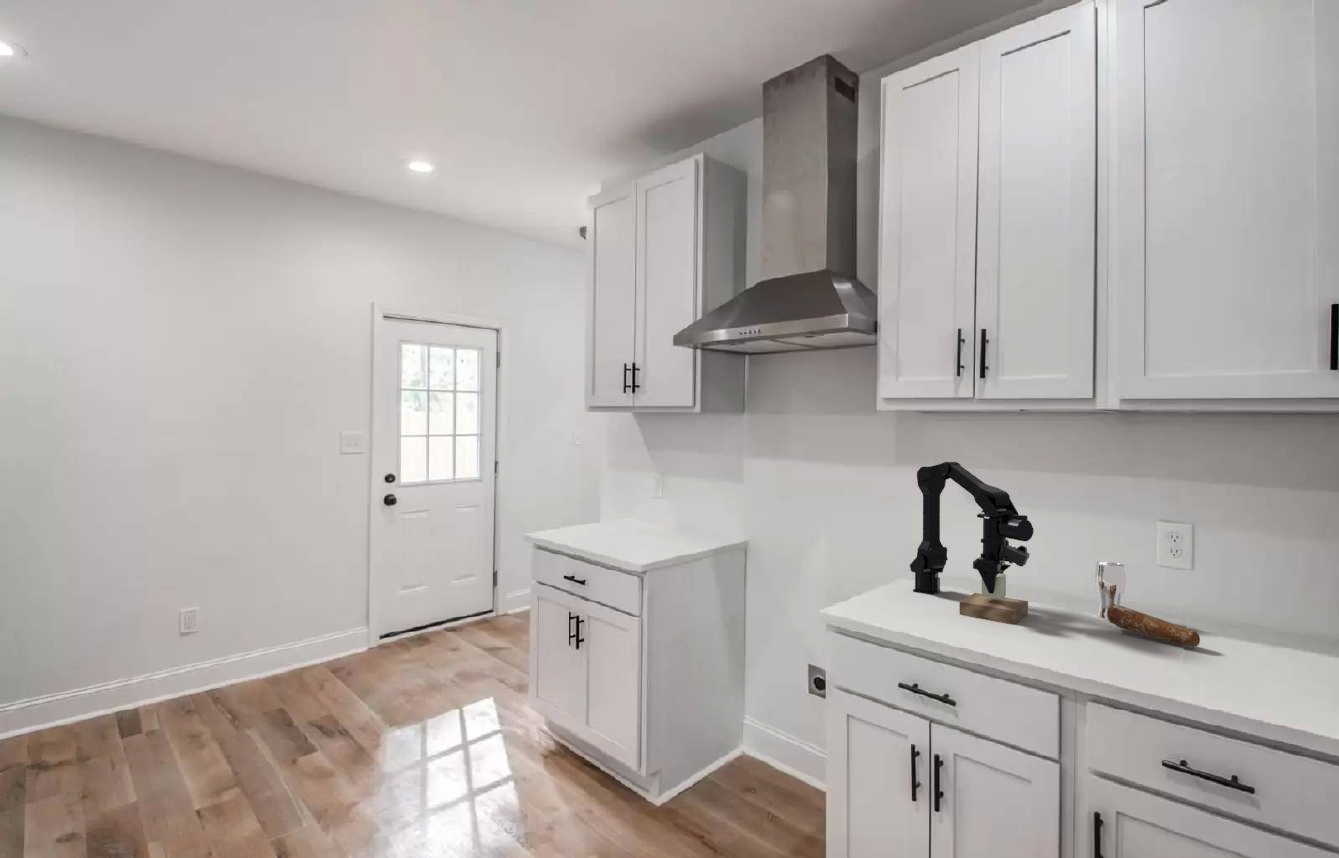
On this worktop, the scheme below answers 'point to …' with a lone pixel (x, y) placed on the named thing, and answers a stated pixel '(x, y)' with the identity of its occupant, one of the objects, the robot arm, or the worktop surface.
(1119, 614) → the bread
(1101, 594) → the beer glass
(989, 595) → the sage block
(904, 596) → the worktop surface
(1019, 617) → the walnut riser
